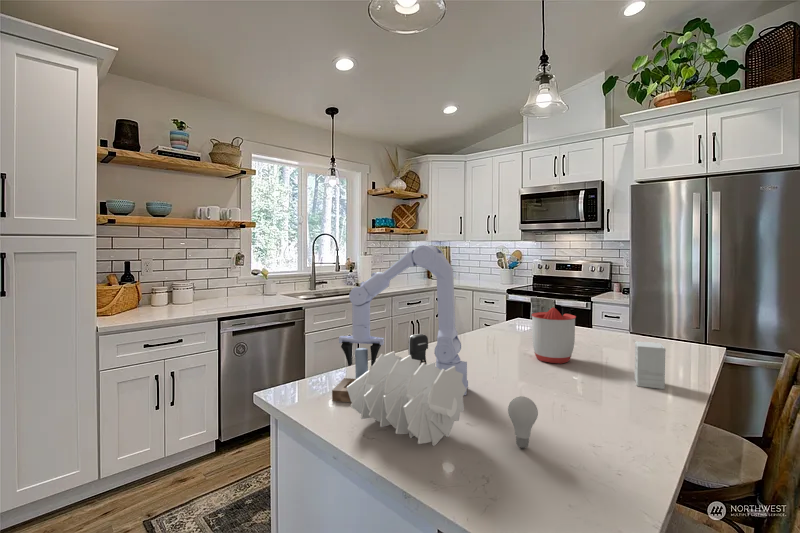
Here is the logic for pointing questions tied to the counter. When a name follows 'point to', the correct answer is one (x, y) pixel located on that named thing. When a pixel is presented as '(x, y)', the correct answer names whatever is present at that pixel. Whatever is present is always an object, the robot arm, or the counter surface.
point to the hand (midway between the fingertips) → (361, 365)
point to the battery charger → (418, 347)
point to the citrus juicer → (553, 336)
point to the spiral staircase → (409, 396)
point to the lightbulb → (522, 418)
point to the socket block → (342, 391)
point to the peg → (361, 361)
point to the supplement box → (650, 364)
